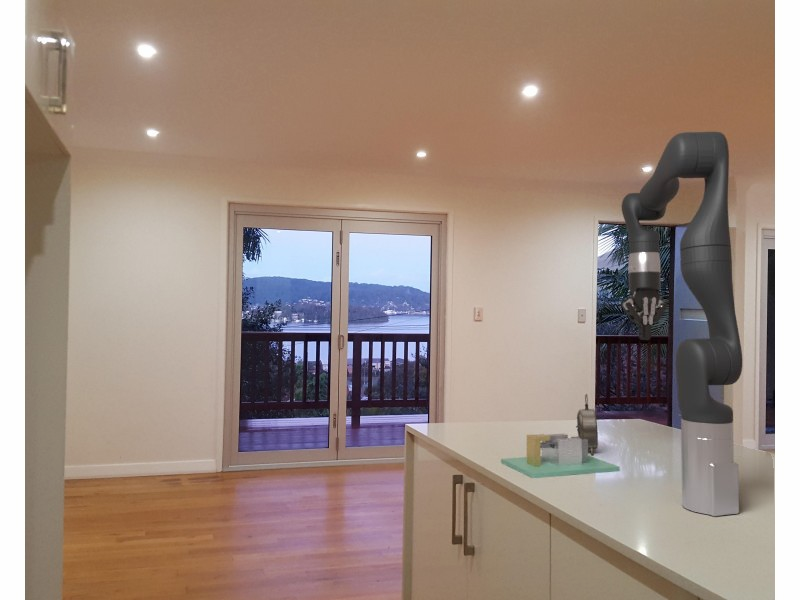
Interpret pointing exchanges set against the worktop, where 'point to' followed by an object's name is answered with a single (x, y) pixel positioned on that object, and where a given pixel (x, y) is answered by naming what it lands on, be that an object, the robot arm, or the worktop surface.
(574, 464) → the heat sink
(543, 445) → the strap
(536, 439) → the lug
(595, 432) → the alarm clock
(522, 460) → the pcb board
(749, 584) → the worktop surface
